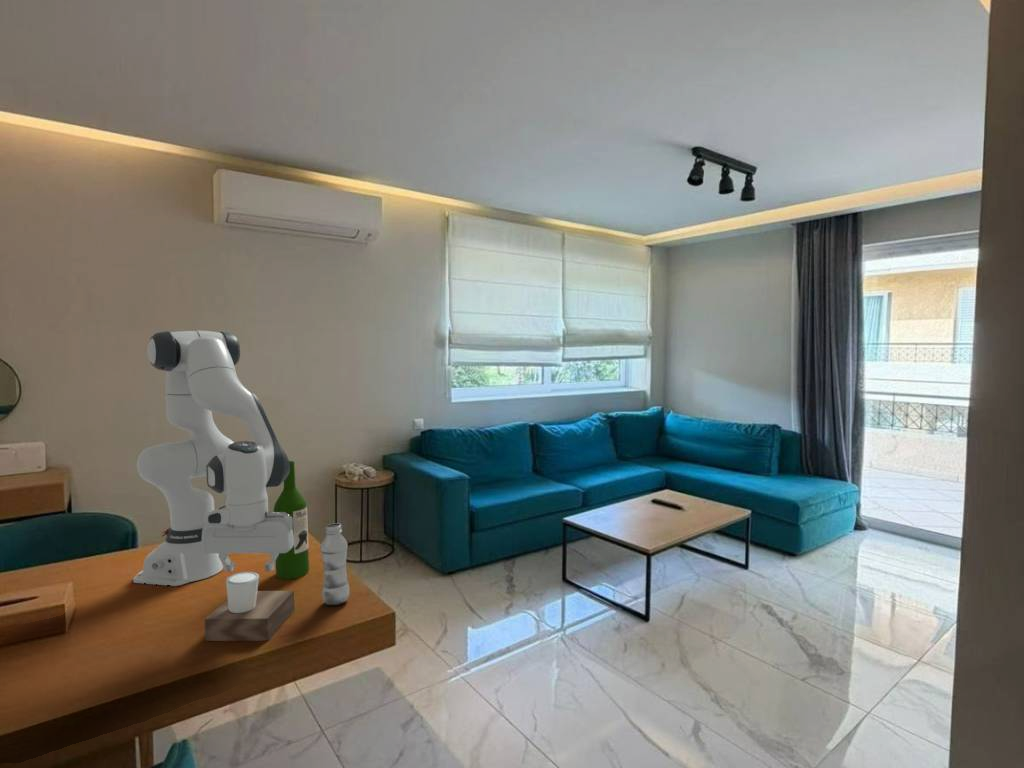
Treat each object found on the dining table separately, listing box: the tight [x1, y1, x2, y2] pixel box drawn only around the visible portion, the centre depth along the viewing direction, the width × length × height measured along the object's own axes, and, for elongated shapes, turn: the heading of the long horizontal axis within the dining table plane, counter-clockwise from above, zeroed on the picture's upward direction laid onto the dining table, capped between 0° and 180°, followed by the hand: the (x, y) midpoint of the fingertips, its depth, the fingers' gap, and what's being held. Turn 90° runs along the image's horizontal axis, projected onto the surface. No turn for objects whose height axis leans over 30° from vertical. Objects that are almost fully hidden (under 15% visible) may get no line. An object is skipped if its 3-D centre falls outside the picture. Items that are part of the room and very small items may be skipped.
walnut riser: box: [204, 590, 295, 642], centre depth 126 cm, size 14×14×5 cm
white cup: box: [225, 571, 260, 613], centre depth 123 cm, size 7×7×7 cm
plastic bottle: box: [320, 522, 350, 606], centre depth 136 cm, size 6×7×20 cm
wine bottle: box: [273, 460, 310, 580], centre depth 155 cm, size 9×9×32 cm
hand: (249, 570), depth 125 cm, fingers open, 8 cm apart
